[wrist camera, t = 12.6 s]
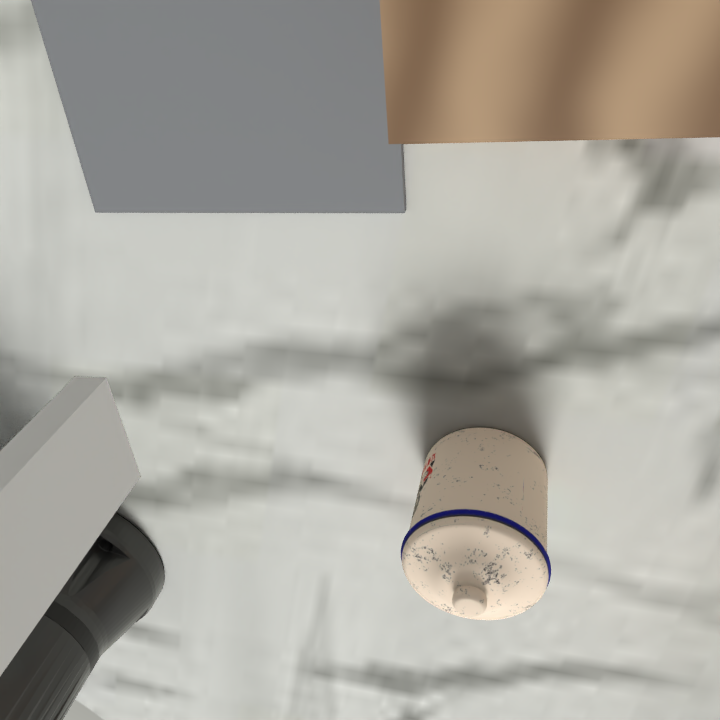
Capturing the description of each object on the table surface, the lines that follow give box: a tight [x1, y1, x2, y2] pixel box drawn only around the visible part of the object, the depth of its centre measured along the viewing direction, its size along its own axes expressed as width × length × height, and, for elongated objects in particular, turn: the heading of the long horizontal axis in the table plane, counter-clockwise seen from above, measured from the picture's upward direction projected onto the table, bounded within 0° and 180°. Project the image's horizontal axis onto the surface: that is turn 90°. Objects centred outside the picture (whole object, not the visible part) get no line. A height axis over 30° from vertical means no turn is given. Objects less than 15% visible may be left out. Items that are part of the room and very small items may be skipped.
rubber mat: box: [31, 0, 406, 213], centre depth 37 cm, size 20×20×1 cm
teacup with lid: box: [401, 428, 551, 620], centre depth 45 cm, size 12×9×12 cm
